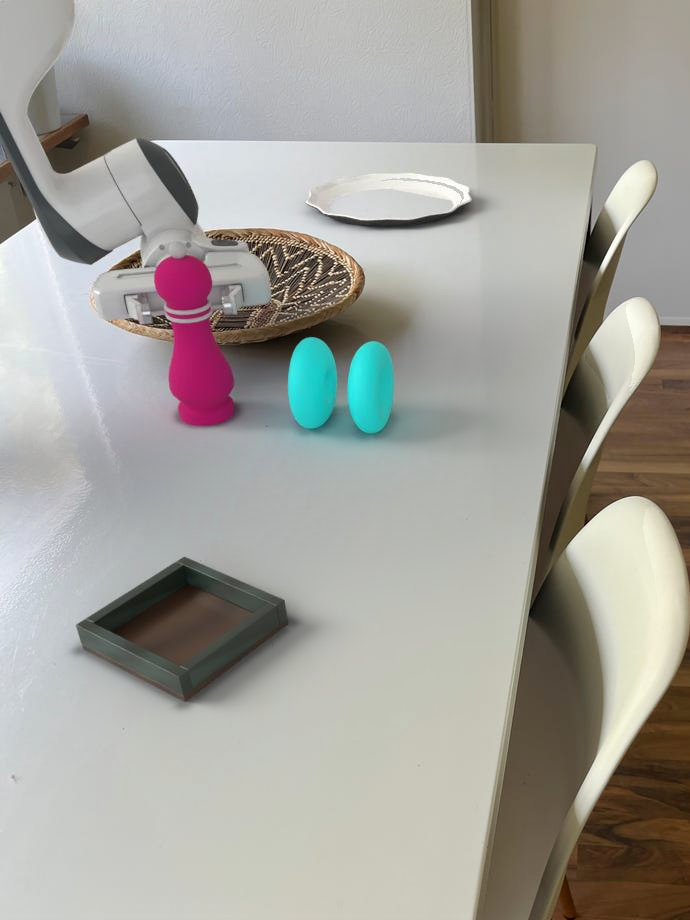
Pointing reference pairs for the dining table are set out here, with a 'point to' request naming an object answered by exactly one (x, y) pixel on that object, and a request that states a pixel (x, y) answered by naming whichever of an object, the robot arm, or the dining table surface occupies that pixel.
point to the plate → (345, 186)
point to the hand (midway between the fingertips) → (187, 312)
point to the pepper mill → (194, 340)
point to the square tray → (183, 627)
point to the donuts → (318, 385)
